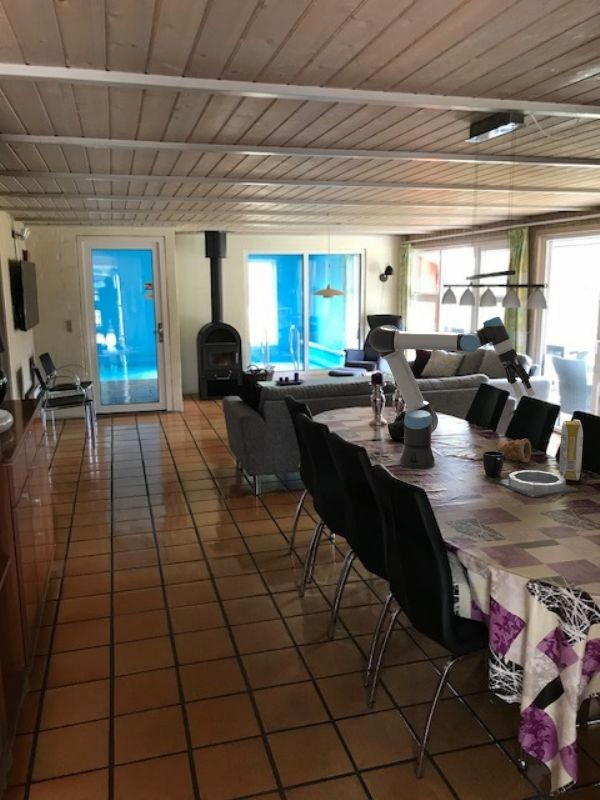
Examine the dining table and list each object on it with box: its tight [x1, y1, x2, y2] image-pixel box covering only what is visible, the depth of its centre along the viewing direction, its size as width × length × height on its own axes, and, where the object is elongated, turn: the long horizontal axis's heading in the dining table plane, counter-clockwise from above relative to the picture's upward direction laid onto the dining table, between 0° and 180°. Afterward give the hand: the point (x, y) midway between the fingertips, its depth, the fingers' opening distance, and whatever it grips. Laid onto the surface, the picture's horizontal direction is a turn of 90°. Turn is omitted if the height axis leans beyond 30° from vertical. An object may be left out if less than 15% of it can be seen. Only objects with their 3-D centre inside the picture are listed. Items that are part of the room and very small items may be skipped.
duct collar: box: [496, 469, 579, 499], centre depth 245 cm, size 21×21×4 cm
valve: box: [387, 410, 406, 441], centre depth 322 cm, size 22×15×30 cm
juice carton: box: [559, 419, 584, 481], centre depth 255 cm, size 9×8×24 cm
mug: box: [482, 450, 505, 478], centre depth 259 cm, size 8×12×10 cm
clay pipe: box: [496, 438, 532, 464], centre depth 286 cm, size 19×11×15 cm
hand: (526, 396), depth 271 cm, fingers open, 13 cm apart
